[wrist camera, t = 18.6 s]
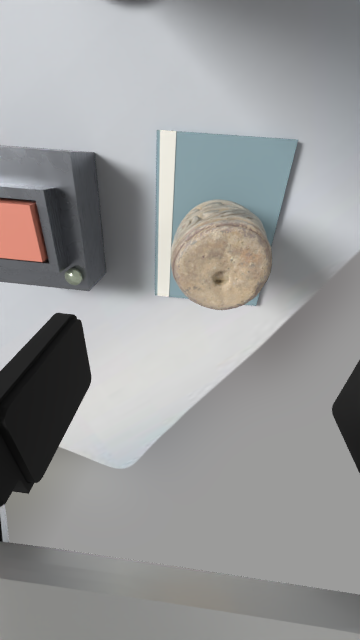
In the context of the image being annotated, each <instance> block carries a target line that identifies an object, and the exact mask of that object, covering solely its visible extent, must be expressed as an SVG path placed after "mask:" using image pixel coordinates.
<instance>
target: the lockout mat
mask: <svg viewBox="0 0 360 640" xmlns="http://www.w3.org/2000/svg"><path fill="white" fill-rule="evenodd" d="M297 142H298V140H295V139H280V138H266V137H251V136H237V135H223V134H208V133H194V132H179V131H166V130H157V155H156V242H155V295H157V296H165V297H177V298H187V299H189V298H188V297H187V296H186V295H185V294H184V293H183V292H182V291H181V289H180V288H179V286H178V285H177V283H176V281H175V279H174V277H173V274H172V268H171V247H172V244H173V240H174V236H175V234H176V232H177V229H178V227H179V225H180V223H181V221H182V220H183V219H184V217H185V216H186V215H187V214H188V213H189V212H190V211H191V210H192V209H193V208H194V207H196V206H197V205H199V204H201V203H203V202H206V201H209V200H215V199H221V200H228V201H232V202H235V203H237V204H239V205H242V206H243V207H245V208H247V209H248V210H249V211H251V212H252V213H253V214H255V215H256V216H257V217H258V218H259V219H260V221H261V222H262V224H263V227H264V229H265V232H266V235H267V240H268V241H269V244H270V247H271V245H272V241H273V237H274V233H275V229H276V225H277V221H278V218H279V214H280V210H281V206H282V202H283V198H284V194H285V190H286V186H287V182H288V178H289V174H290V170H291V166H292V162H293V158H294V154H295V150H296V146H297ZM259 293H260V292H259ZM258 297H259V294H258V295H257V296H256V297H255V298H254V299H252V300H251V301H249V302H248V303H246V304H244V305H253V306H256V304H257V301H258Z"/></svg>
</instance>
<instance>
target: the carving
mask: <svg viewBox="0 0 360 640" xmlns="http://www.w3.org/2000/svg"><path fill="white" fill-rule="evenodd" d="M271 266H272V251H271V247H270V244H269V241H268V240H267V235H266V232H265V229H264V227H263V224H262V222H261V221H260V219H259V218H258V217H257V216H256V215H255V214H253V213H252V212H251V211H249V210H248V209H247V208H245V207H243V206H242V205H239V204H237V203H235V202H232V201H228V200H221V199H215V200H209V201H206V202H203V203H201V204H199V205H197V206H196V207H194V208H193V209H192V210H191V211H190V212H189V213H188V214H187V215H186V216H185V217H184V219H183V220H182V221H181V223H180V225H179V227H178V229H177V232H176V234H175V236H174V240H173V244H172V247H171V268H172V274H173V277H174V279H175V281H176V283H177V285H178V286H179V288H180V289H181V291H182V292H183V293H184V294H185V295H186V296H187V297H188V298H189V299H190V300H192V301H193V302H195V303H197V304H199V305H201V306H204V307H207V308H211V309H216V310H227V309H232V308H236V307H239V306H242V305H244V304H246V303H248V302H249V301H251V300H252V299H254V298H255V297H256V296H257V295H258V294H259V292H260V291H261V289H262V287H263V286H264V284H265V283H266V281H267V279H268V277H269V275H270V272H271Z"/></svg>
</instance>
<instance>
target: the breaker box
mask: <svg viewBox="0 0 360 640" xmlns="http://www.w3.org/2000/svg"><path fill="white" fill-rule="evenodd" d="M0 198H9V199H20V200H32V201H36V205H37V209H38V214H39V218H40V223H41V227H42V232H43V237H44V241H45V246H46V250H47V255H48V259H47V260H45V261H43V262H37V261H27V260H17V259H7V258H0V282H8V283H18V284H27V285H37V286H46V287H56V288H65V289H75V290H84V291H90V290H91V289H92V287H93V286H94V285H95V284H96V283H97V282H98V281H99V280H100V279H101V278H102V277H103V275H104V274H105V273H106V267H105V256H104V246H103V236H102V225H101V215H100V205H99V194H98V184H97V174H96V163H95V153H94V152H82V151H68V150H55V149H42V148H28V147H15V146H2V145H0Z"/></svg>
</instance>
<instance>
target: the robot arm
mask: <svg viewBox="0 0 360 640" xmlns="http://www.w3.org/2000/svg"><path fill="white" fill-rule="evenodd" d="M90 383H91V372H90V366H89V361H88V355H87V350H86V344H85V339H84V333H83V327H82V323H81V320H79V319H77V317H76V316H75V315H72V314H63V313H56V314H55V315H53V316H52V317H51V319H50V320H49V321H48V322H47V323H46V324H45V325H44V326H43V327H42V328H41V329H40V330H39V331H38V332H37V333H36V334H35V335H34V336H33V337H32V339H31V340H30V341H29V342H28V343H27V344H26V345H25V346H24V347H23V348H22V349H21V350H20V351H19V352H18V353H17V354H16V355H15V356H14V357H13V359H12V360H11V361H10V362H9V363H8V364H7V365H6V366H5V367H4V368H3V369H2V370H1V371H0V640H360V595H358V594H352V593H346V592H339V591H333V590H327V589H320V588H313V587H307V586H300V585H294V584H288V583H281V582H274V581H268V580H261V579H255V578H248V577H242V576H235V575H229V574H222V573H215V572H209V571H203V570H196V569H189V568H183V567H177V566H170V565H163V564H157V563H149V562H143V561H136V560H129V559H123V558H116V557H109V556H102V555H96V554H89V553H82V552H76V551H69V550H62V549H56V548H48V547H39V546H32V545H23V544H16V543H9V536H8V527H7V519H6V510H5V503H6V502H7V500H8V498H9V496H10V495H11V493H12V491H14V492H22V493H29V492H30V490H31V488H32V486H33V484H34V483H37V482H39V481H40V480H41V478H42V477H43V475H44V473H45V471H46V470H47V468H48V466H49V464H50V462H51V460H52V458H53V456H54V454H55V452H56V450H57V448H58V446H59V444H60V442H61V440H62V438H63V437H64V435H65V433H66V431H67V429H68V427H69V425H70V423H71V421H72V419H73V417H74V415H75V413H76V411H77V409H78V407H79V405H80V403H81V402H82V400H83V398H84V396H85V394H86V392H87V390H88V388H89V386H90ZM332 412H333V416H334V418H335V421H336V423H337V425H338V427H339V429H340V432H341V434H342V436H343V438H344V440H345V442H346V444H347V447H348V449H349V451H350V453H351V455H352V458H353V460H354V462H355V464H356V466H357V468H358V471H359V473H360V360H359V362H358V364H357V365H356V367H355V369H354V370H353V372H352V374H351V376H350V377H349V379H348V380H347V382H346V384H345V386H344V387H343V389H342V391H341V393H340V394H339V396H338V397H337V399H336V401H335V402H334V404H333V408H332Z"/></svg>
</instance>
